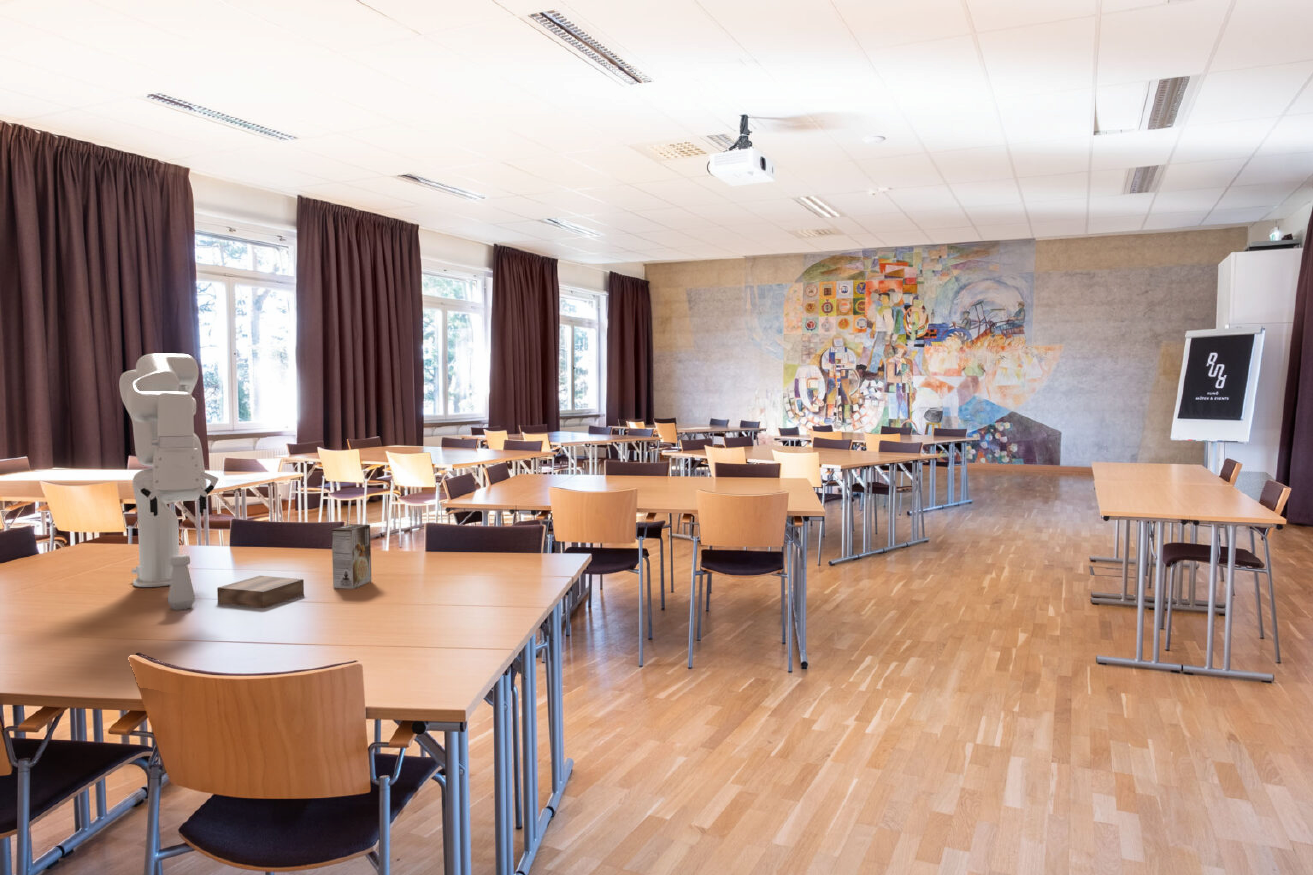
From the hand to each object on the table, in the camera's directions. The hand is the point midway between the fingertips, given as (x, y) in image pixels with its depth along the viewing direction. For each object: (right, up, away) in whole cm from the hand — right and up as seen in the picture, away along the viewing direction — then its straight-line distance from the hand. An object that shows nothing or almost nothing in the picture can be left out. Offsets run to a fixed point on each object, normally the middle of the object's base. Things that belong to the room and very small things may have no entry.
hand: (178, 513), depth 200 cm
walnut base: (+15, -23, +10) cm, 29 cm away
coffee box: (+33, -22, +26) cm, 47 cm away
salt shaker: (0, -23, +2) cm, 23 cm away
